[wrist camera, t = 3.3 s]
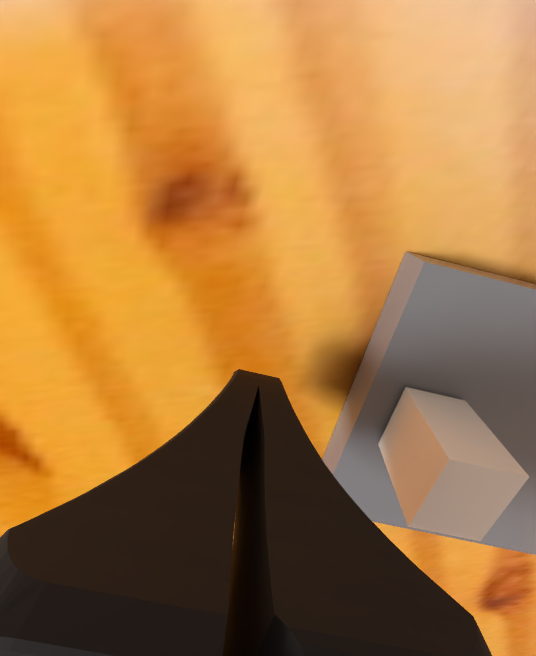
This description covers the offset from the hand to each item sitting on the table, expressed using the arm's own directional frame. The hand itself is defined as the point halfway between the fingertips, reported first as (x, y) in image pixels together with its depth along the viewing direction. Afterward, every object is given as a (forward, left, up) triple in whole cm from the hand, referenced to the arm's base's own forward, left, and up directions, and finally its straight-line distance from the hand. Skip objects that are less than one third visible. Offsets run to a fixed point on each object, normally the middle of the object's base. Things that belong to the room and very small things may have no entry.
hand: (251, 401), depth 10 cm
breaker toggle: (0, -6, -1) cm, 6 cm away
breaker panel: (0, -10, -2) cm, 10 cm away
